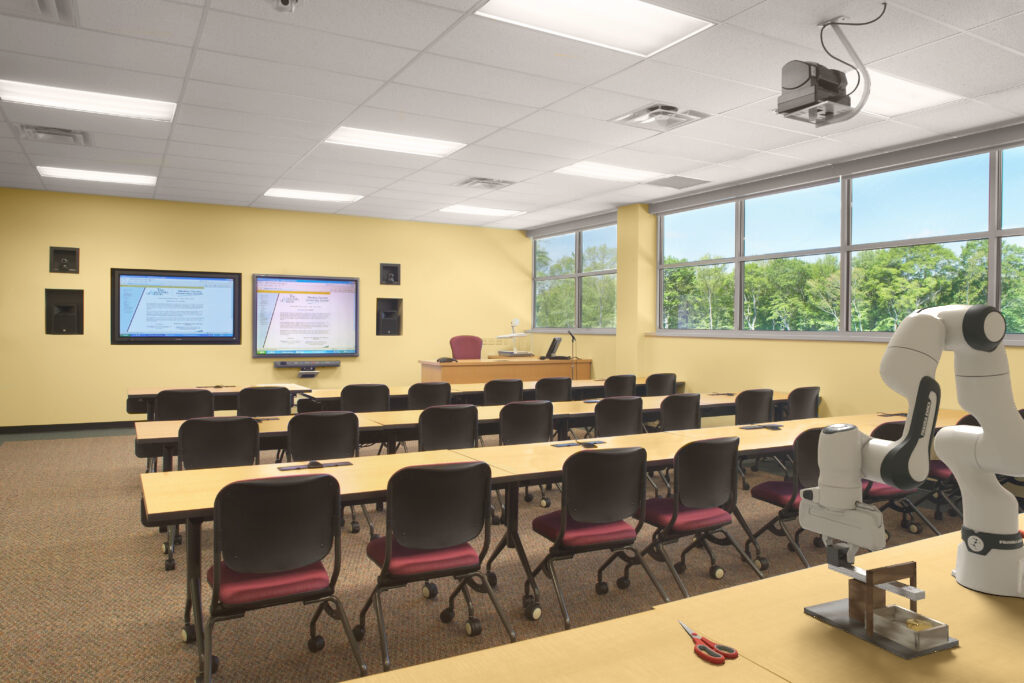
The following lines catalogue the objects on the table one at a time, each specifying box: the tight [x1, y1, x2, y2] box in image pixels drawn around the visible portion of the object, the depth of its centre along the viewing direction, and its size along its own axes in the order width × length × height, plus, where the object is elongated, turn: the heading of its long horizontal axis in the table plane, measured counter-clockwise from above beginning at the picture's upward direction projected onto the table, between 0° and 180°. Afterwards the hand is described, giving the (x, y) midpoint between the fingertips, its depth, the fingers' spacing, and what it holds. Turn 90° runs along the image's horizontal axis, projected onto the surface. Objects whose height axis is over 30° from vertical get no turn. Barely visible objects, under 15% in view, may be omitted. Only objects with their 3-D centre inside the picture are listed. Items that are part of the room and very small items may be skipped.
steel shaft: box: [826, 542, 926, 601], centre depth 140 cm, size 20×5×6 cm, turn 23°
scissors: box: [677, 619, 739, 665], centre depth 134 cm, size 8×21×2 cm, turn 23°
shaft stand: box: [803, 560, 960, 661], centre depth 139 cm, size 24×15×14 cm, turn 23°
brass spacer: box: [907, 619, 933, 632], centre depth 130 cm, size 4×4×3 cm
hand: (840, 558), depth 147 cm, fingers closed on steel shaft, 3 cm apart
